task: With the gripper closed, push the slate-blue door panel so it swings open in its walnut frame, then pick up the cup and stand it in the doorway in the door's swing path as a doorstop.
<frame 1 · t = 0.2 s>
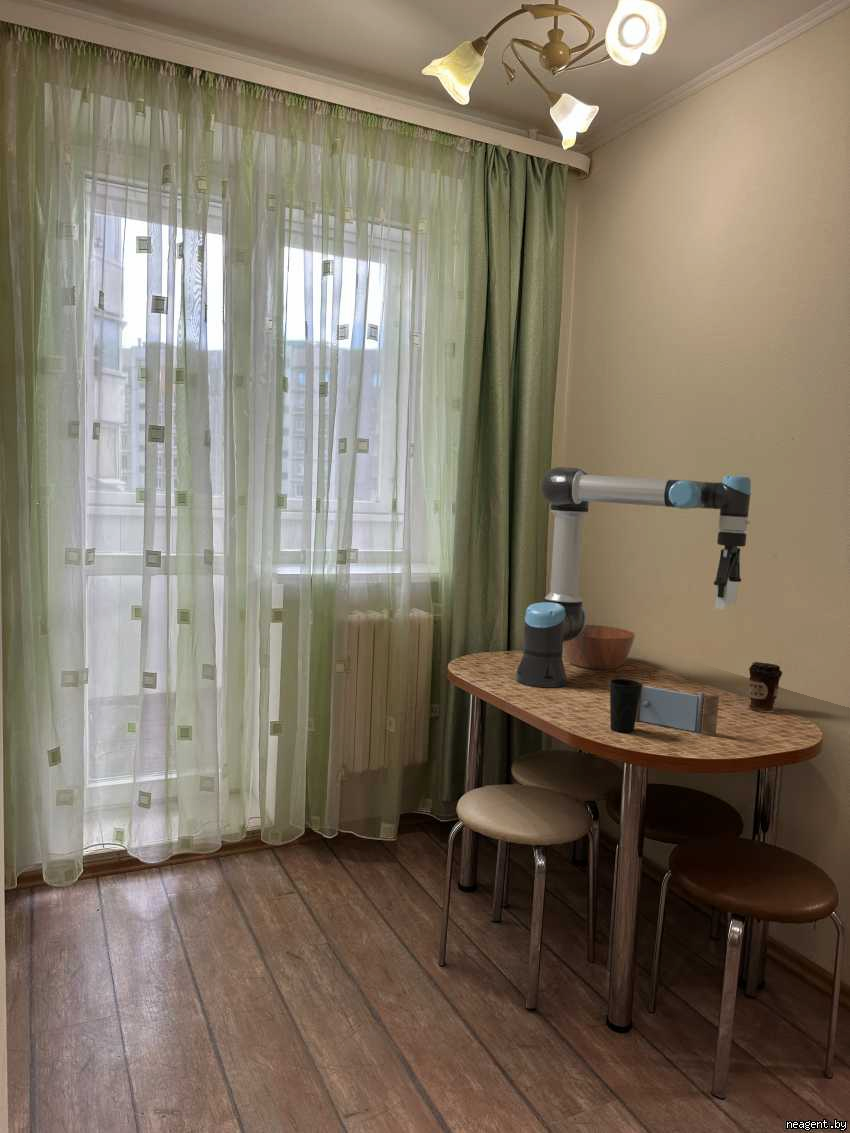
hand: (725, 606, 243), 28 cm above the table, fingers open, 13 cm apart
door: (671, 708, 217), point 5 cm above the table, hinge at 0.0°
bowl: (594, 665, 288), on the table
coffee cup: (761, 710, 240), on the table
door frame: (670, 726, 218), on the table
cup: (621, 730, 213), on the table
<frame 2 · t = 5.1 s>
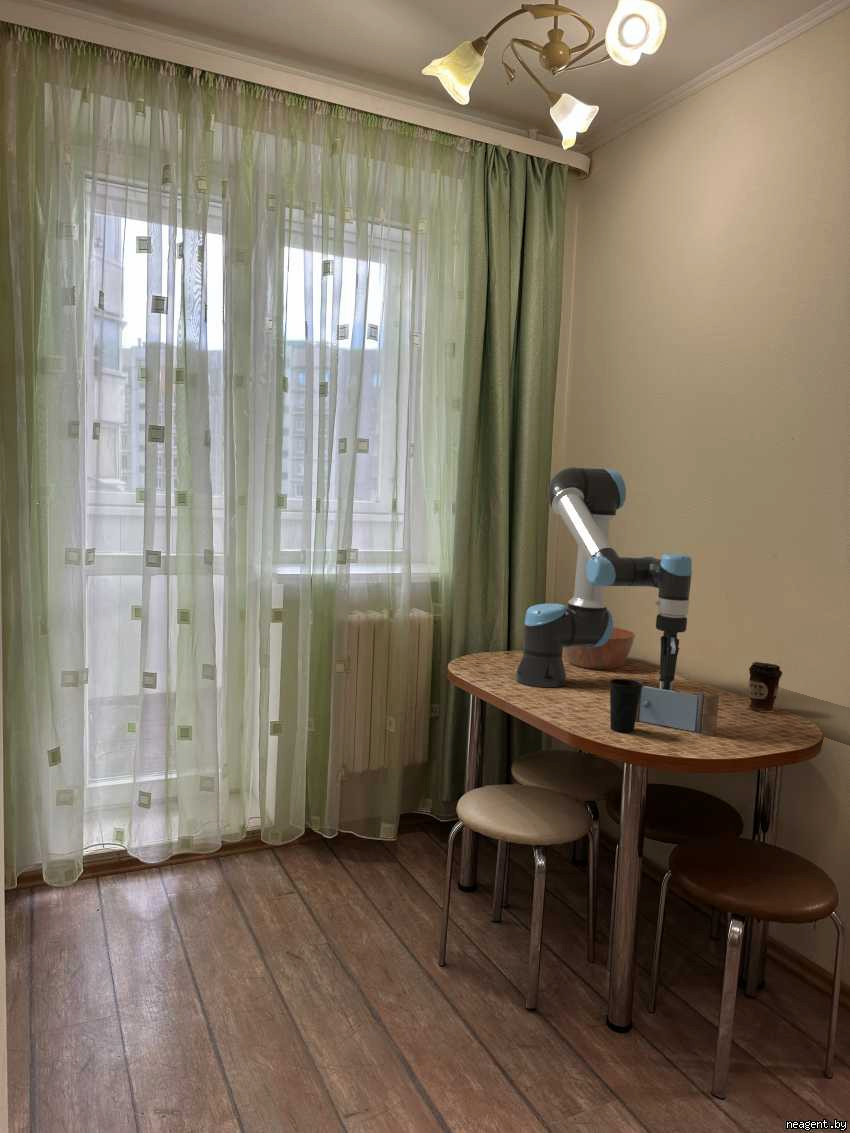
hand: (664, 705, 221), 5 cm above the table, fingers closed
door: (671, 708, 217), point 5 cm above the table, hinge at 1.0°, touching gripper
everything else where it was.
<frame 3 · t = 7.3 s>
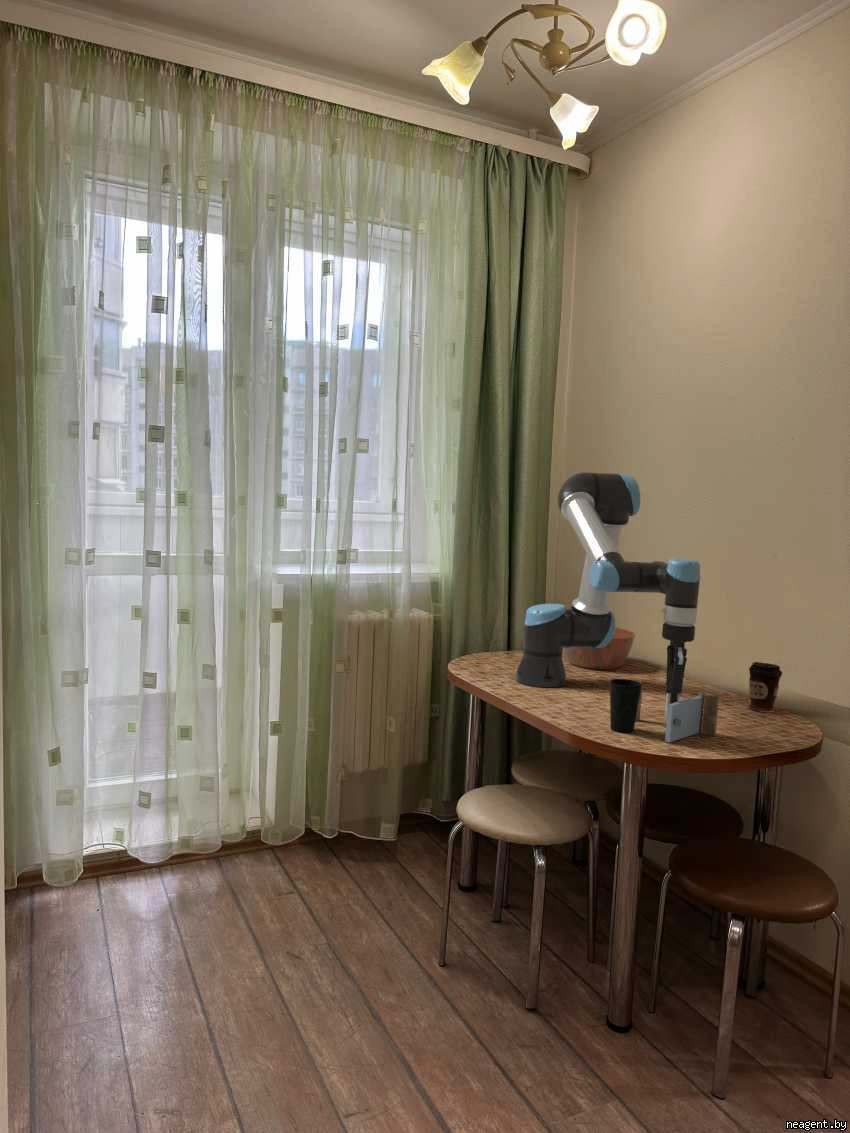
hand: (670, 718, 209), 4 cm above the table, fingers closed
door: (687, 717, 208), point 5 cm above the table, hinge at 74.6°, touching gripper
everything else where it was.
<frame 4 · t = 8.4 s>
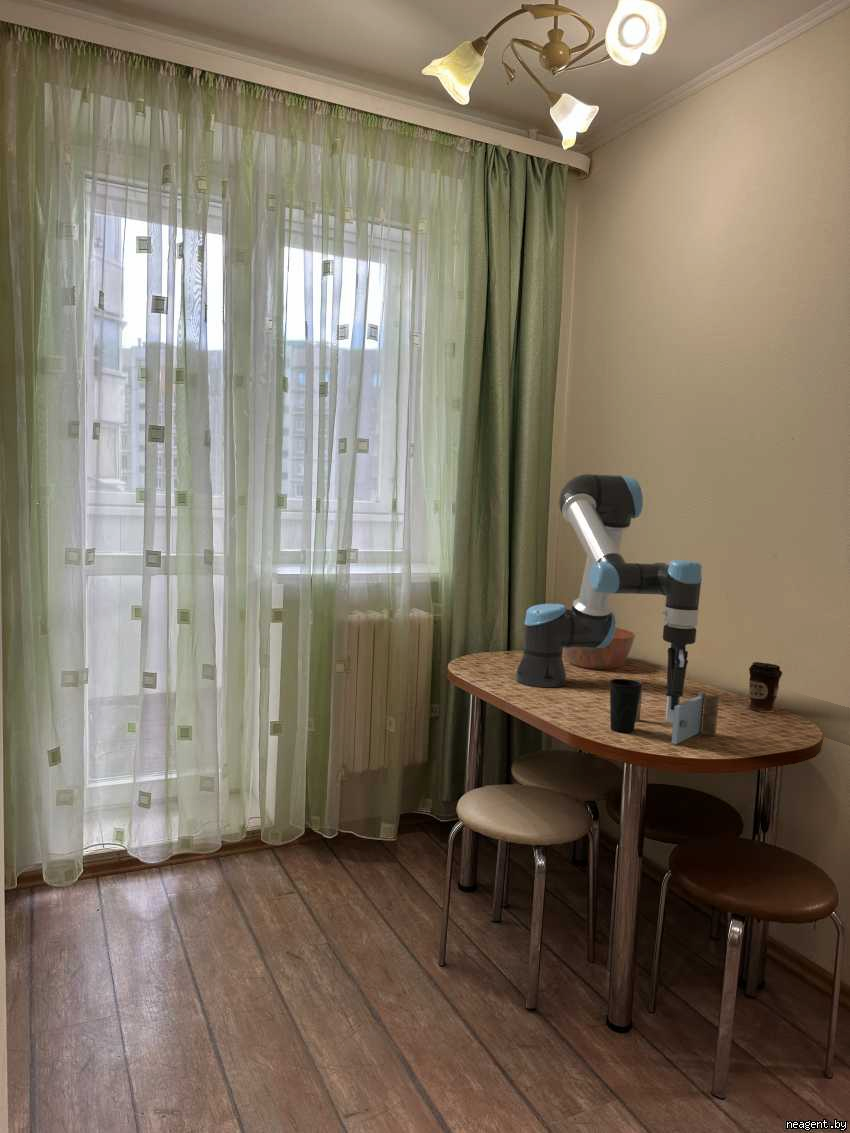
hand: (671, 721, 207), 4 cm above the table, fingers closed
door: (690, 718, 208), point 5 cm above the table, hinge at 81.3°, touching gripper
everything else where it was.
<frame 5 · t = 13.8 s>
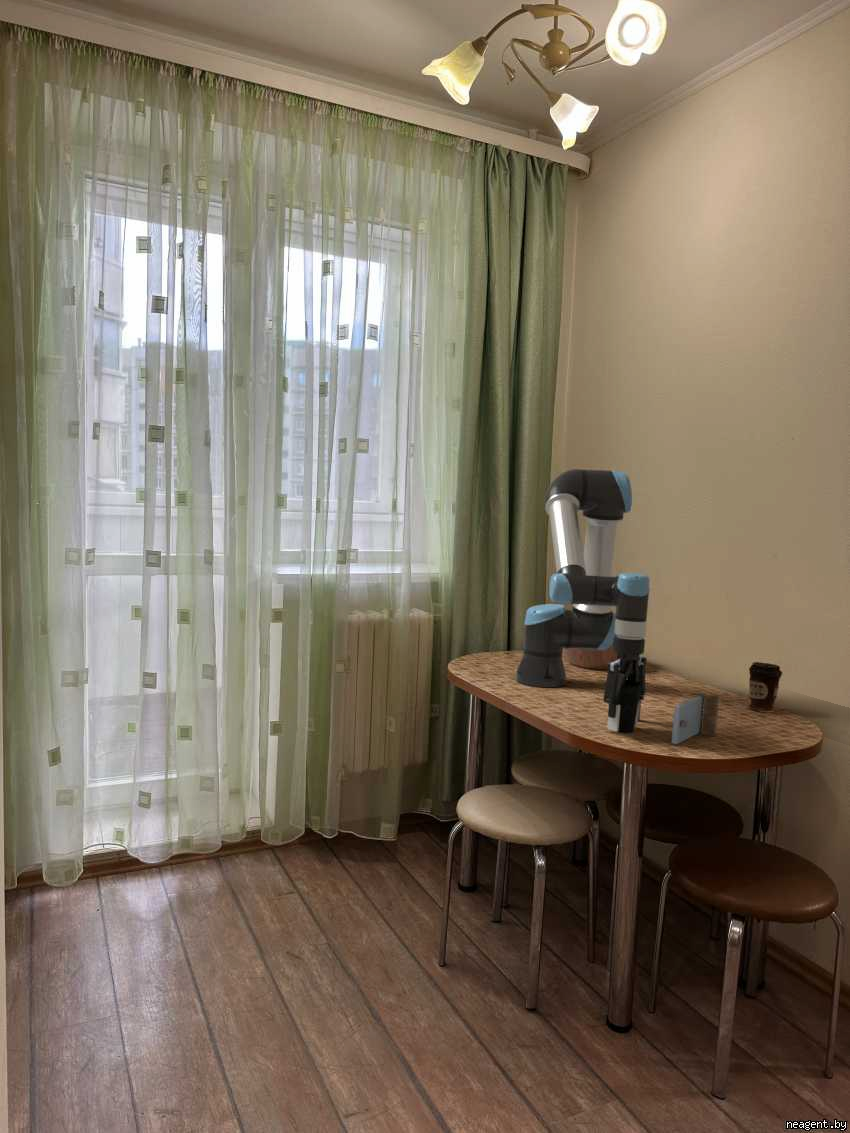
hand: (622, 727, 213), 1 cm above the table, fingers closed on cup, 8 cm apart
door: (690, 718, 208), point 5 cm above the table, hinge at 81.4°
cup: (621, 730, 213), on the table, touching gripper
everything else where it was.
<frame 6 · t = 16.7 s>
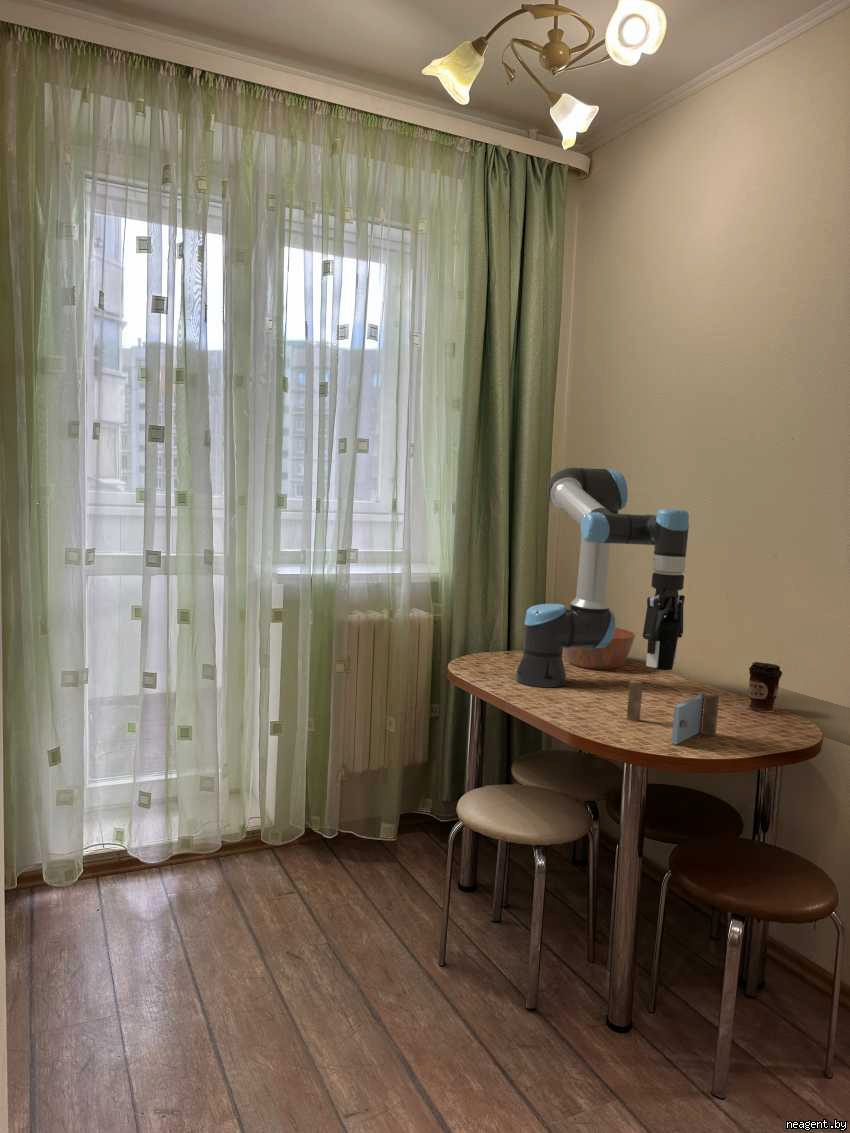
hand: (660, 664, 211), 17 cm above the table, fingers closed on cup, 8 cm apart
cup: (660, 668, 211), point 16 cm above the table, touching gripper
everything else where it was.
when the fingers open (3 cm above the table, at t = 19.5 s): cup drops 2 cm, on the table.
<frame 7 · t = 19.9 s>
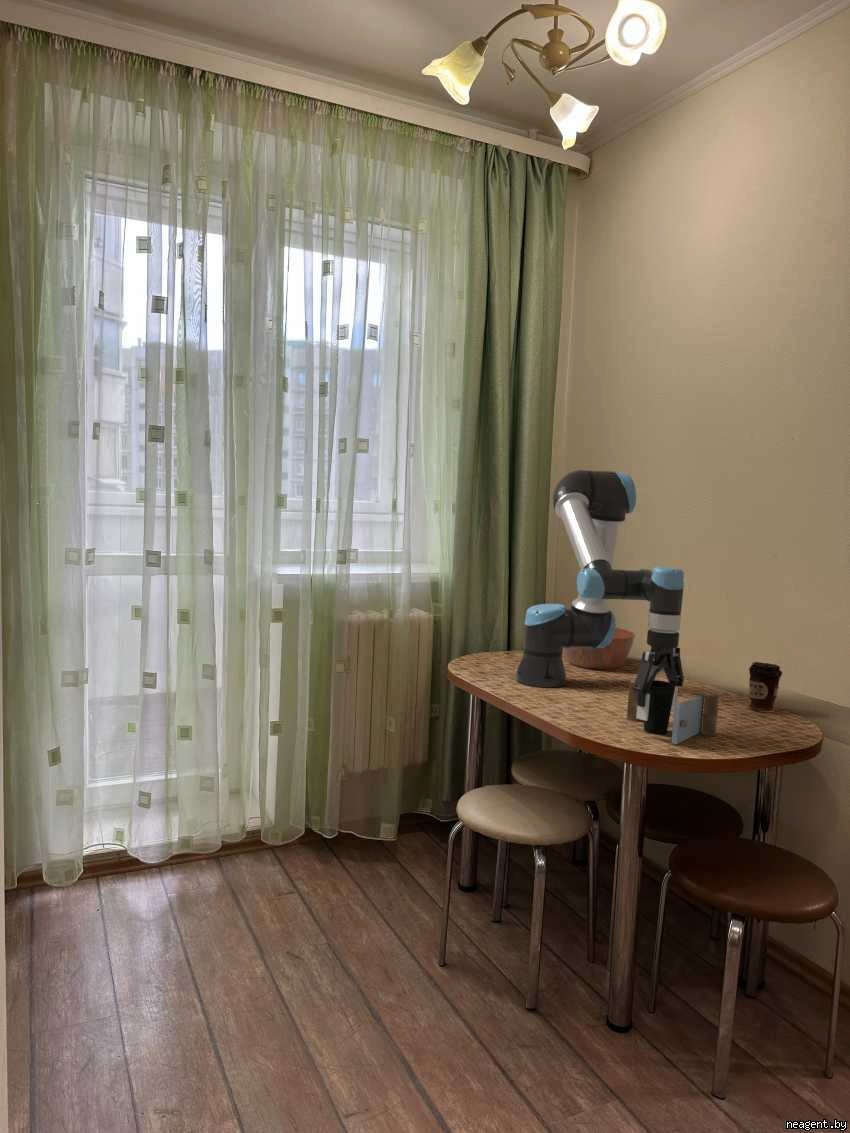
hand: (656, 715, 213), 4 cm above the table, fingers open, 13 cm apart
cup: (655, 731, 213), on the table
everything else where it was.
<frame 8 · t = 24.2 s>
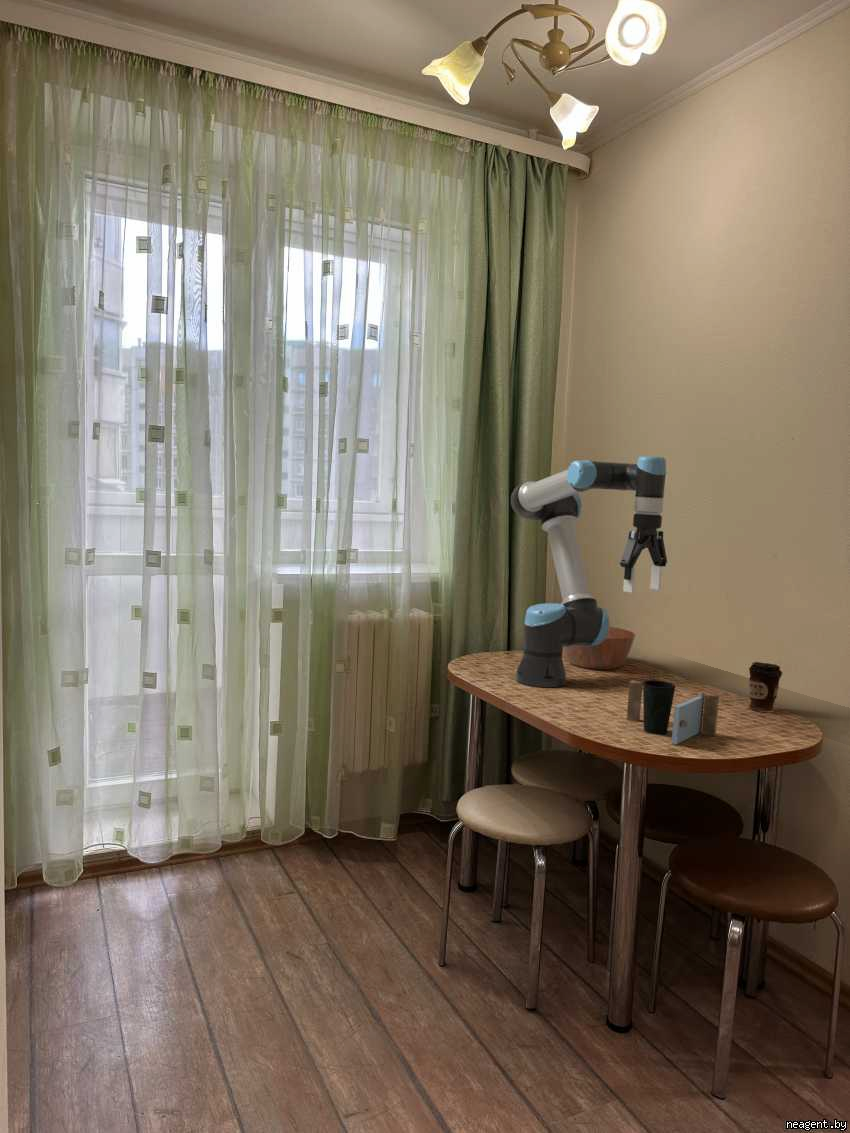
hand: (641, 590, 237), 32 cm above the table, fingers open, 13 cm apart
nothing on the table moved.
at the end: door at +81° (first picture: +0°); cup inside the target area (0.1 cm from its centre), on the table; cup tilted 0° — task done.
